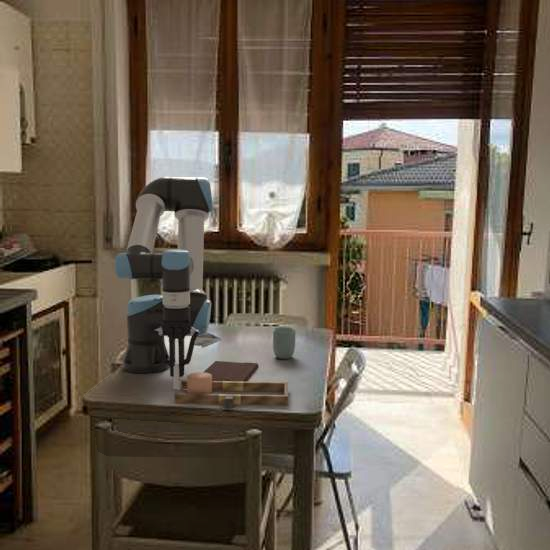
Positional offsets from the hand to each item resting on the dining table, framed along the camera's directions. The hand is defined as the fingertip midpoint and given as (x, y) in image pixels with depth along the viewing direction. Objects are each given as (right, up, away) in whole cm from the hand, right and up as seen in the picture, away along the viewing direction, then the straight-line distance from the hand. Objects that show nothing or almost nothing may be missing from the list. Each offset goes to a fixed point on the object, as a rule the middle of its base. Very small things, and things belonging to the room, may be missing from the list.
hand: (177, 387), depth 171 cm
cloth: (0, +6, +64) cm, 64 cm away
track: (+16, -3, -1) cm, 16 cm away
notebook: (+13, 0, +20) cm, 24 cm away
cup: (+31, +3, +40) cm, 50 cm away
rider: (+6, -3, 0) cm, 7 cm away
